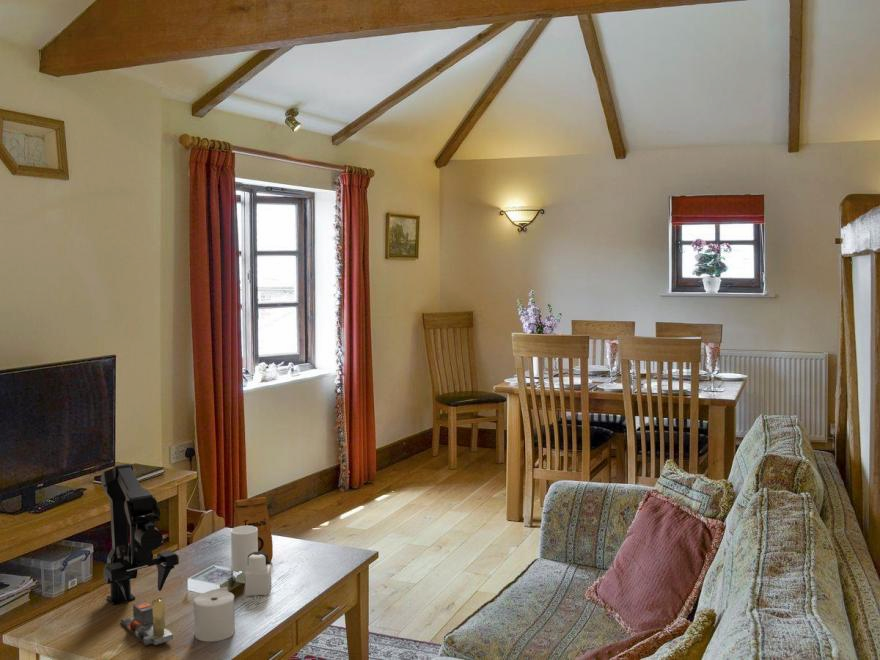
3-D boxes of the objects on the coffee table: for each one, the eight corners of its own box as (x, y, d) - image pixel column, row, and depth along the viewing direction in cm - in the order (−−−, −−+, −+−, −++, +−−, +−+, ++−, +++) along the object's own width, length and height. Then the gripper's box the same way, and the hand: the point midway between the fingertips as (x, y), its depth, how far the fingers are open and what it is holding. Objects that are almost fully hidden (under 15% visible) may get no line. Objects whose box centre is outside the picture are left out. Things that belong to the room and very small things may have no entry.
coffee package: (274, 564, 282) (273, 500, 280) (236, 569, 277) (235, 504, 275) (269, 554, 291) (268, 492, 289) (232, 559, 287) (231, 496, 284)
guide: (120, 623, 237) (120, 619, 237) (143, 616, 242) (143, 613, 242) (146, 645, 224) (146, 642, 224) (170, 638, 228) (170, 634, 228)
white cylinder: (251, 584, 265) (250, 534, 264) (227, 582, 267) (226, 533, 265) (262, 574, 273) (261, 526, 272) (238, 572, 275) (237, 524, 273)
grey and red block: (133, 618, 234) (133, 604, 234) (145, 614, 236) (145, 600, 236) (142, 625, 230) (141, 611, 229) (154, 621, 232) (154, 607, 231)
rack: (124, 625, 233) (122, 588, 232) (147, 618, 238) (146, 582, 237) (148, 646, 221) (147, 608, 220) (173, 639, 225) (172, 601, 224)
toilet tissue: (197, 645, 224) (196, 608, 223) (191, 626, 235) (190, 592, 234) (238, 638, 229) (237, 602, 228) (230, 620, 240) (229, 586, 239)
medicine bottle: (248, 587, 263) (247, 549, 262) (271, 586, 264) (270, 549, 262) (244, 596, 256) (244, 558, 255) (268, 595, 257) (268, 557, 255)
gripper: (162, 525, 243) (163, 578, 244) (96, 540, 231) (98, 595, 232) (178, 535, 235) (180, 589, 236) (111, 550, 222) (113, 608, 224)
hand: (143, 595), depth 232 cm, fingers open, 9 cm apart
